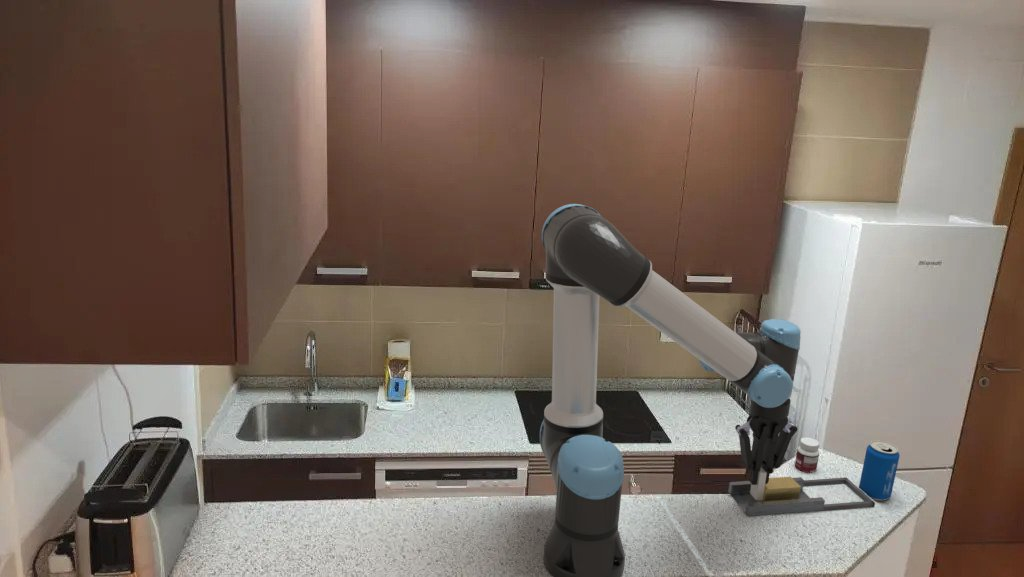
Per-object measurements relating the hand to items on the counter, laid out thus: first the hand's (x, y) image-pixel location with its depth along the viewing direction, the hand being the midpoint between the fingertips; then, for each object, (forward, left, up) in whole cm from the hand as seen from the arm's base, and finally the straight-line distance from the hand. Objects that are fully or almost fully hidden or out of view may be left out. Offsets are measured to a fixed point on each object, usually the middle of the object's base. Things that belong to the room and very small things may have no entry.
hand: (756, 496), depth 151 cm
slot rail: (+4, 0, -3) cm, 5 cm away
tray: (+19, +1, -3) cm, 19 cm away
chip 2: (+7, 0, -2) cm, 7 cm away
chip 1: (+3, 0, -2) cm, 3 cm away
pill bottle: (+19, +12, -3) cm, 23 cm away
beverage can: (+30, +2, -3) cm, 30 cm away
